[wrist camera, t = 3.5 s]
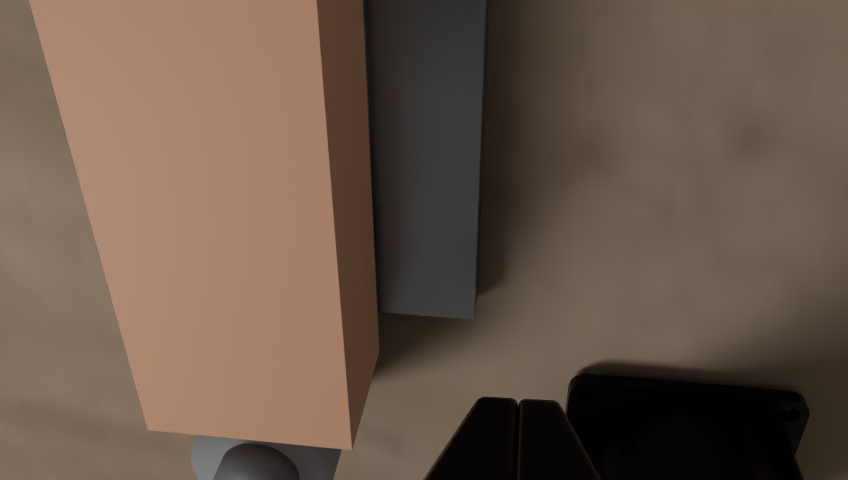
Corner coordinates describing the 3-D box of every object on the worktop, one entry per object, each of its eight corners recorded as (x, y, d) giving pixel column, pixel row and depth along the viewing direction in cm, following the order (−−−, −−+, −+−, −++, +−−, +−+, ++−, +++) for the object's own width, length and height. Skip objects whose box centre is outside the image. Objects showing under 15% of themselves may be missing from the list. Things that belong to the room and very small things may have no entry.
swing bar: (390, 407, 24) (357, 549, 20) (233, 393, 24) (168, 527, 20) (366, -204, 15) (296, -186, 11) (122, -205, 16) (-33, -187, 11)
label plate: (499, -267, 14) (495, -268, 13) (477, 297, 21) (473, 322, 20) (-3, -264, 16) (-37, -263, 15) (132, 271, 22) (114, 293, 22)
